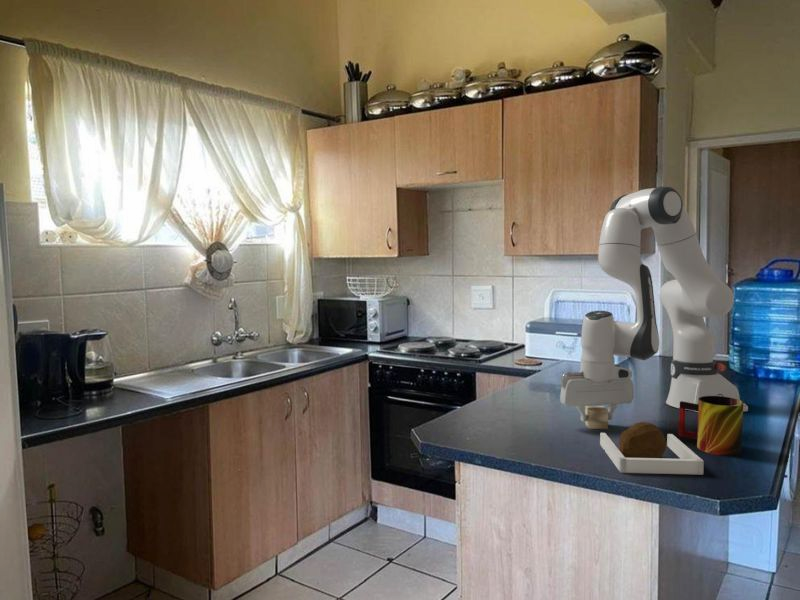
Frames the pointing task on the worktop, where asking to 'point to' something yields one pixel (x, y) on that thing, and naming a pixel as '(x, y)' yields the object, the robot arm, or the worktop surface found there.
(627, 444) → the potato
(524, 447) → the worktop surface
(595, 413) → the beech block
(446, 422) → the worktop surface
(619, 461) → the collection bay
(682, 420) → the mug
